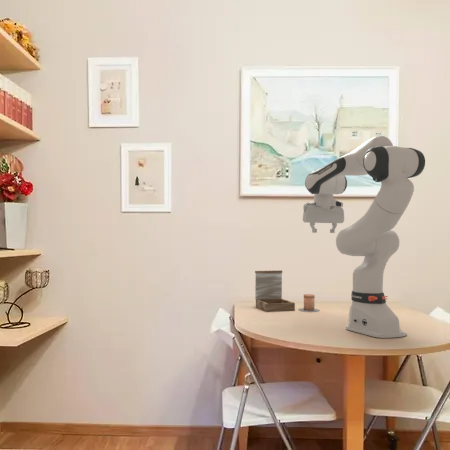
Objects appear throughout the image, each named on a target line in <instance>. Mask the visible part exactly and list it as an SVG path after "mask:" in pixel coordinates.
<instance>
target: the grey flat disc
mask: <svg viewBox="0 0 450 450" xmlns="http://www.w3.org/2000/svg"><path fill="white" fill-rule="evenodd" d="M298 311H299V312H304V313H319V312H320V311H321V310H320V309H318V308H314V311H306V310H304V307H300V308H298Z"/></svg>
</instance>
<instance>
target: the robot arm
mask: <svg viewBox="0 0 450 450" xmlns="http://www.w3.org/2000/svg"><path fill="white" fill-rule="evenodd" d="M425 166H426V158H425V155H424V153H423V152H422V151H421V150H419V149H415V148H413V147H403V146H397V145H393V142H392V140H390V138H388V137H387V136H385V135H376V136H374V137H372V138H370V139H368V140H366V141H365V142H363V143H362V144H361V145H359V146H357V148H355V149H354V150H352V151H351V152H348V153H347V154H344V155H342V156H340V157H338V158H335V159H334V160H332V161H331V162H329V163H326V165H324V166H323V167H319V168H317V169H316V170H312V171H310V173H309V174H307V176H306V177H305V180H304V181H305V182H304V185H305V188H306V190H307V191H308V193H310V194H311V195H313V202H306V203H304V204H303V215H302V221H303V223H309V226H310V228H311V232H312V233H313V234H315V233H316V234H317V232H318V229H317V228H316V227H315V224H331V228H330V229H329V233H330V234H334V233H336V229H337V225H338V224H343V223H344V222H345V211H344V209H343V207H344V202H343V201H340V200H338V199H335V198H334V195H342V194H343V193H345V191H346V190H347V187H348V180H347V177H346V176H359V177H360V176H365V175H369V176H370V177H371V178H372V181H374V182H376V183H380V184H381V185H380V189H379V190H378V192H377V194H376V196H375V197H374V199H373V201H372V203H371V205H370V206H369V208H368V209H367V210H366V212H365V213H364V214H363V215H362V217H361V218H359V219H358V220H357V221H355V222H354V223H353V224H351V225H349V226H347V227H346V228H343V229H341V230H340V231H339V232H338V233H337V236H336V238H335V246H336V249H337V250H338V251H339V253H341V254H342V255H347V256H351V257H364V258H363V261H362V263H361V264H360V265H358V266H356V268H355V269H354V270H353V272H352V290H351V294H350V295H351V299H350V300H351V301H352V303H351V304H350V306H349V313H348V321H347V325H346V327H345V330H348V331H351V332H354V333H358V334H362V335H365V336H369V337H373V338H377V339H378V338H380V339H382V338H383V339H387V338H388V339H389V338H390V339H393V338H402V337H406V336H407V335H408V334H407V331H405V330H401V329H400V319H399V317H398V316H397V315H396V314H395V312H394V311H393V310H392V309H391V307H389V305H388V304H387V303H386V302H387V298H388V297H389V296H388V295H387V296H386V295H385V292H383V291H384V285H383V284H384V272H385V269H386V265H387V263H388V261H389V259H390V258H392V256H393V255H394V254H395V253H397V251H398V250H399V247H400V239H399V235H398V233H397V232H396V231H394V230H393V229H394V228H395V227H396V225H397V224H398V223H399V221H400V219H401V217H402V216H403V215H404V213H405V211H406V210H407V208H408V206H409V204H410V202H411V200H412V197H413V194H414V192H415V185H414V182H412V180H411V179H410V178H416V177H418V176H420V175H421V173H423V171H424V169H425Z"/></svg>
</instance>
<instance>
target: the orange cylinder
mask: <svg viewBox="0 0 450 450" xmlns="http://www.w3.org/2000/svg"><path fill="white" fill-rule="evenodd" d="M315 297H316V295H315V294H310V293H308V294H307V293H305V294H303V308H304V310H306V311H314V309H315V305H316V304H315V303H316V302H315Z"/></svg>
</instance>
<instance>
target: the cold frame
mask: <svg viewBox="0 0 450 450" xmlns="http://www.w3.org/2000/svg"><path fill="white" fill-rule="evenodd" d="M254 273H255V288H254V289H255V290H254V291H255V308H257V309H260V310H262V311H265V312H266V313H270V312H271V313H273V312H290V311H293V312H294V311H295V310H296V308H295V307H296V304H295V302H293V301H290V300H288V299H284V298H282V297H283V296H282V295H283V294H282V293H283V292H282V291H283V290H282V289H283V288H282V287H283V277H282V276H283V270H255V271H254Z"/></svg>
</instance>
